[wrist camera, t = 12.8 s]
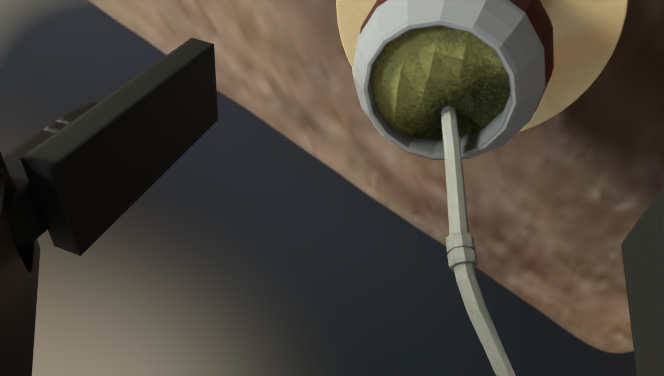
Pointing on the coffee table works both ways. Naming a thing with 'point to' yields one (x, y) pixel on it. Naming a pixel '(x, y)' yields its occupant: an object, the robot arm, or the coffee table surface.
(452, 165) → the mate gourd
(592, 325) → the coffee table surface
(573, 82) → the jar
